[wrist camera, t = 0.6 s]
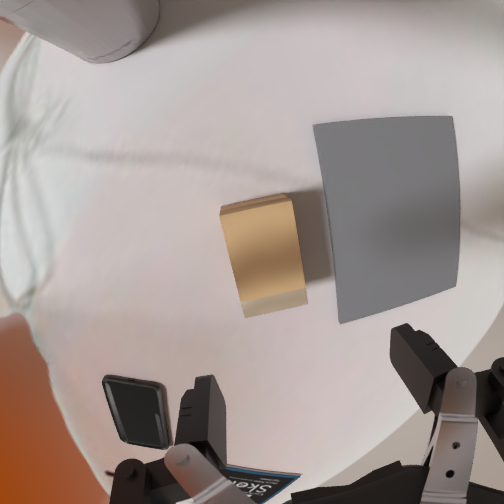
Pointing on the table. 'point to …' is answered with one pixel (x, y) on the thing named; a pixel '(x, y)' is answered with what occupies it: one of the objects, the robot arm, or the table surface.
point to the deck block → (264, 254)
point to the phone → (137, 411)
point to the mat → (390, 210)
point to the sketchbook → (255, 482)
